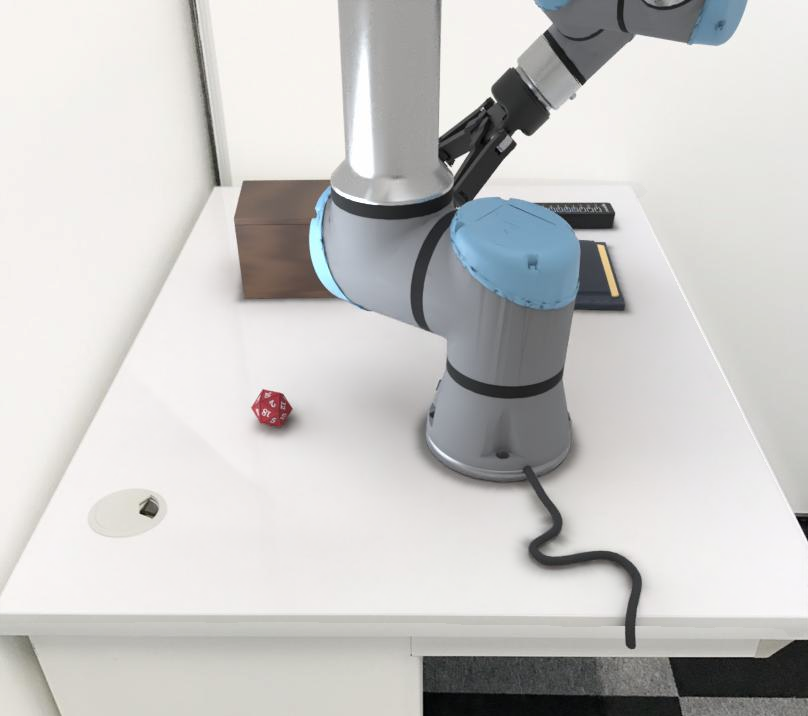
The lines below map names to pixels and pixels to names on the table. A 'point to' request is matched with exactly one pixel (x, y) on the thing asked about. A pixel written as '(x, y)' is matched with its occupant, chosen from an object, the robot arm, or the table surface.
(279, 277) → the brown wooden box
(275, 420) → the dice
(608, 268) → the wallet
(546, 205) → the multiport hub
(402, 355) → the table surface
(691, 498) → the table surface
